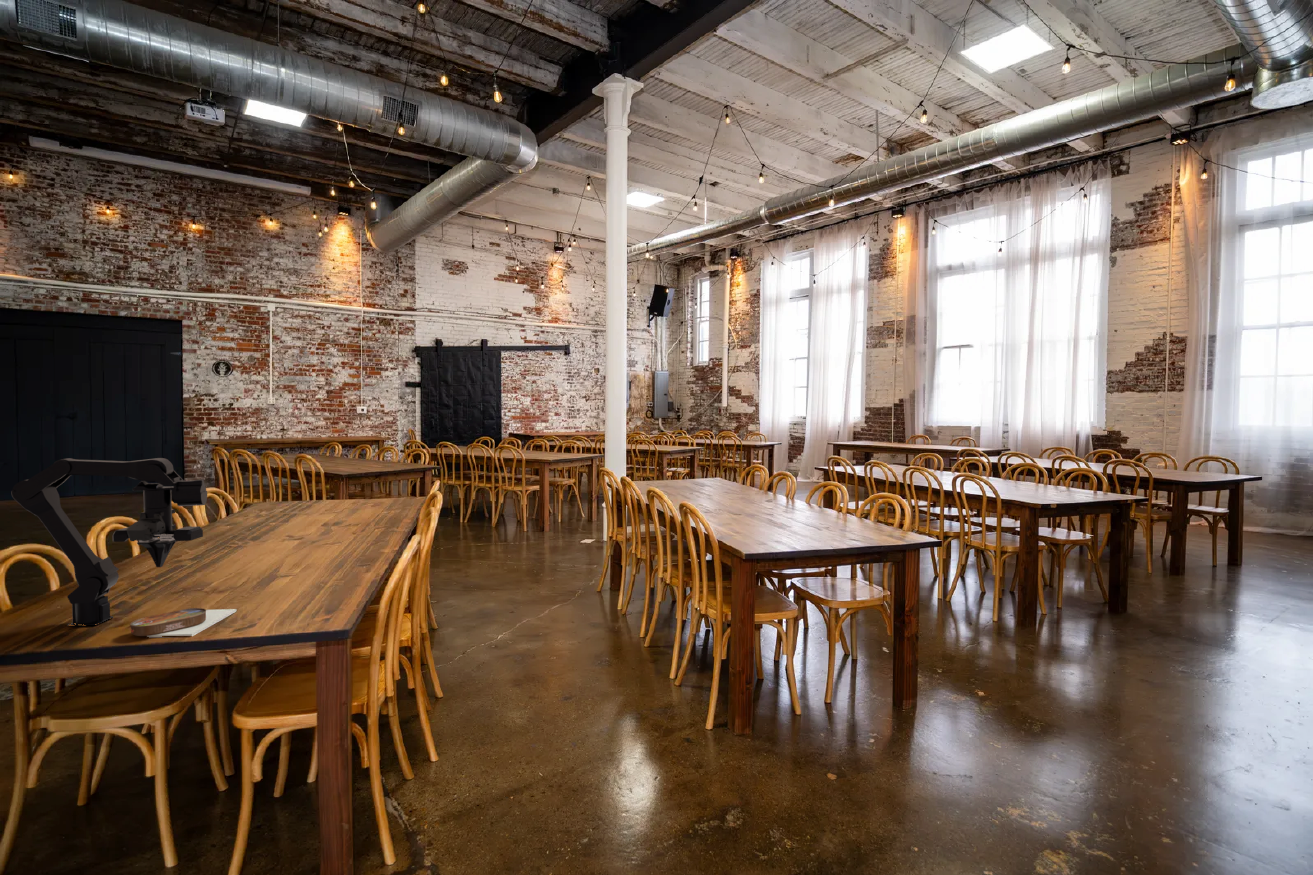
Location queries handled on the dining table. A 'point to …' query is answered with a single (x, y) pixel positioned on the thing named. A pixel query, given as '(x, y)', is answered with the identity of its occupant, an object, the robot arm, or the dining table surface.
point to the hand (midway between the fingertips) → (159, 567)
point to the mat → (211, 619)
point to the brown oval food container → (168, 622)
